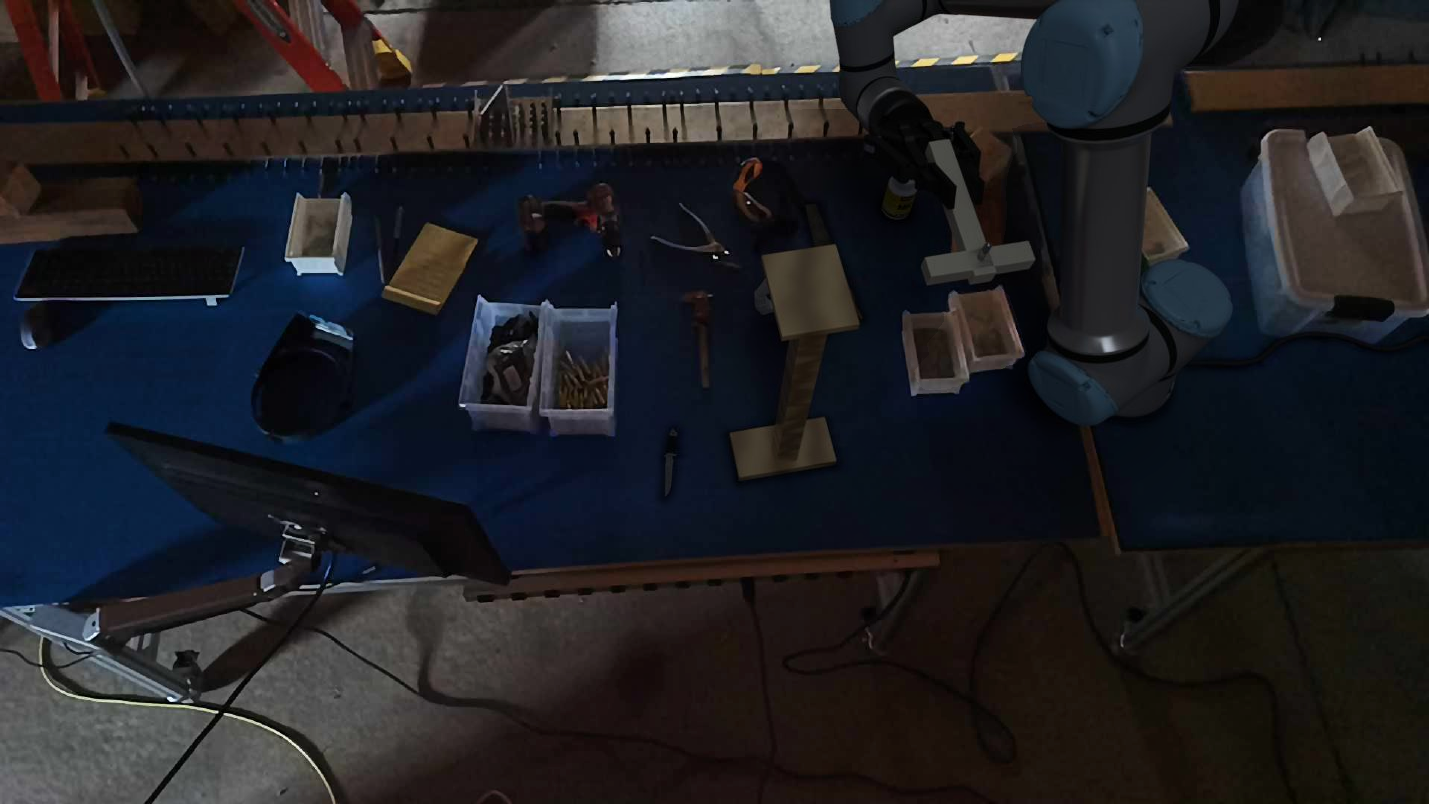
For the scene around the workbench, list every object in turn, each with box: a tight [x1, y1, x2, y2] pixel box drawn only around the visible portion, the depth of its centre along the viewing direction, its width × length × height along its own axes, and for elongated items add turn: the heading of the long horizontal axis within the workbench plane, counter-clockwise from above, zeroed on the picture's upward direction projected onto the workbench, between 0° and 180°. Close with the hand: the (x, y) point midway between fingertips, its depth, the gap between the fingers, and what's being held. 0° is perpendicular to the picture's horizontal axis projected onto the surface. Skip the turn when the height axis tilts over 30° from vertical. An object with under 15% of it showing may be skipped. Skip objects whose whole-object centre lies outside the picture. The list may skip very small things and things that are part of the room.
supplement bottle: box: [881, 176, 918, 221], centre depth 139 cm, size 5×5×8 cm
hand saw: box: [804, 203, 863, 321], centre depth 138 cm, size 24×5×1 cm, turn 15°
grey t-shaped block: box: [920, 138, 1036, 286], centre depth 96 cm, size 12×18×5 cm, turn 11°
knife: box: [663, 429, 678, 497], centre depth 122 cm, size 10×2×1 cm, turn 170°
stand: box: [729, 243, 861, 482], centre depth 106 cm, size 14×10×40 cm
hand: (966, 195), depth 95 cm, fingers closed on grey t-shaped block, 2 cm apart
